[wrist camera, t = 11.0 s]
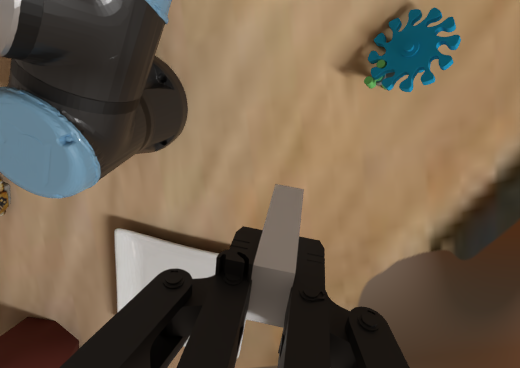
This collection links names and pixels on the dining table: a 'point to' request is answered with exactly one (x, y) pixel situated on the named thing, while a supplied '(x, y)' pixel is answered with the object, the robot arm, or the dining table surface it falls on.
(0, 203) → the decorative figurine
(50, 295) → the dining table surface
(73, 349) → the bucket
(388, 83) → the gear
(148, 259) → the square plate
